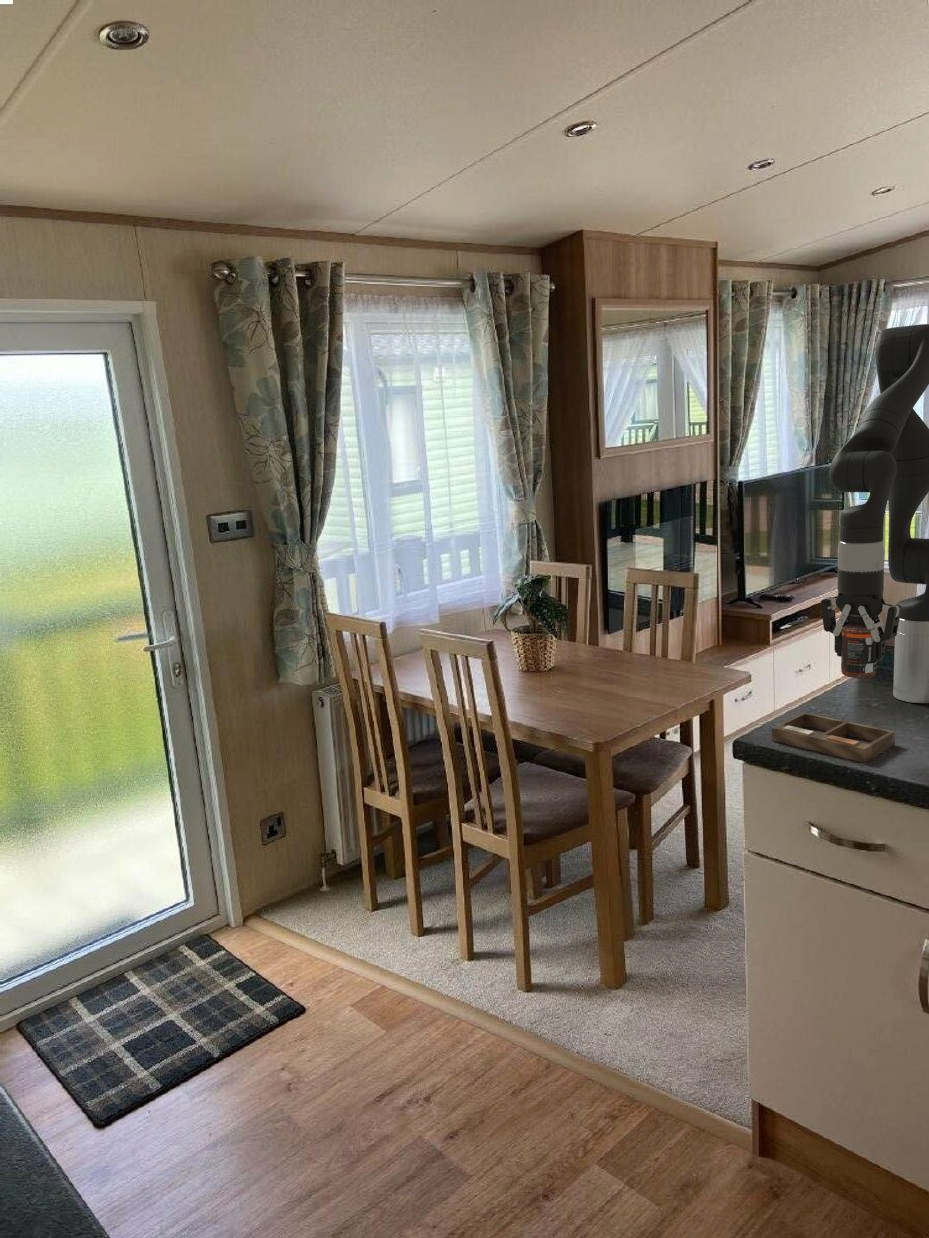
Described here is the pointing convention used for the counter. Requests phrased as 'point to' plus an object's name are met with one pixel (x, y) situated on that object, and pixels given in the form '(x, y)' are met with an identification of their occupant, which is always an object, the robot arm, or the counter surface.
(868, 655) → the supplement bottle
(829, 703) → the counter surface
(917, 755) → the counter surface
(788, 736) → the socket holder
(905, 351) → the robot arm
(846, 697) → the counter surface
